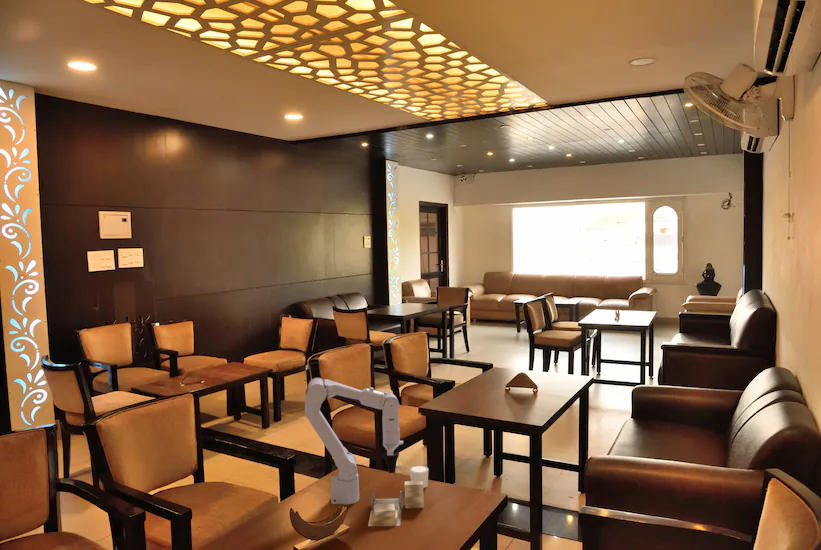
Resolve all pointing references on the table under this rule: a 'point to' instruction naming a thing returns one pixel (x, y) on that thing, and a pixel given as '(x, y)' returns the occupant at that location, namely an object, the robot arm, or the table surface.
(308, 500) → the table surface
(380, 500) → the rack
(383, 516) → the offcut upper
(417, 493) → the birch block
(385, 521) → the offcut lower
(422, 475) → the white cylinder
